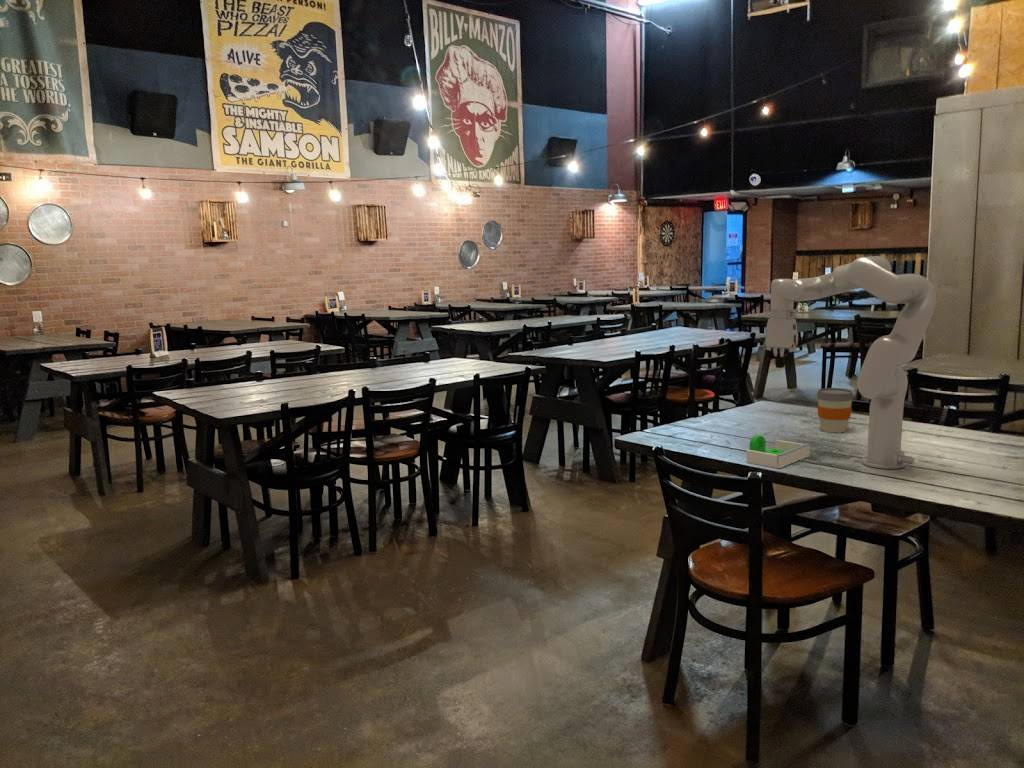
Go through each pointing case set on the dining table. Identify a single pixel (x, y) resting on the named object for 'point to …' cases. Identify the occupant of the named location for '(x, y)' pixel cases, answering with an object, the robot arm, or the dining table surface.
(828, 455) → the dining table surface
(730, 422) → the dining table surface
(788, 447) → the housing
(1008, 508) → the dining table surface
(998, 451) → the dining table surface
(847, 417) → the reusable coffee cup
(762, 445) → the mechanical part
